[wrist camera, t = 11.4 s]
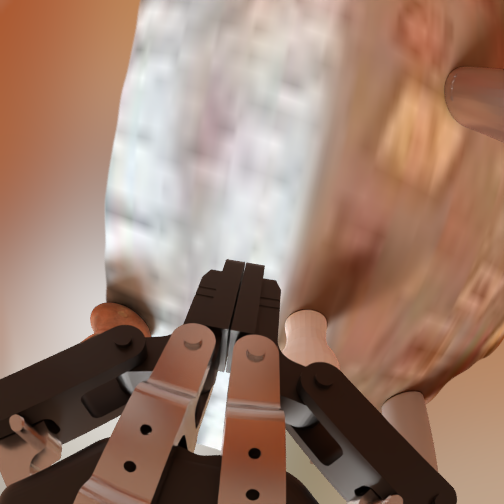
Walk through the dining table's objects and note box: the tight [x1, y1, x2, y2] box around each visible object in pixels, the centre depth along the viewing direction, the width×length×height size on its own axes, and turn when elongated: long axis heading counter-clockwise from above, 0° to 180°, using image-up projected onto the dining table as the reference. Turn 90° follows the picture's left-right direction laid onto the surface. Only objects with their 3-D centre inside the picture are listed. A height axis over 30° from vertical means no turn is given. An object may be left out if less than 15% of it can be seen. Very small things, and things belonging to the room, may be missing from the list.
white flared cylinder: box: [282, 310, 340, 370], centre depth 46 cm, size 11×11×15 cm
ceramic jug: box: [82, 302, 151, 342], centre depth 53 cm, size 18×14×14 cm
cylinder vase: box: [382, 391, 438, 472], centre depth 56 cm, size 12×12×25 cm
